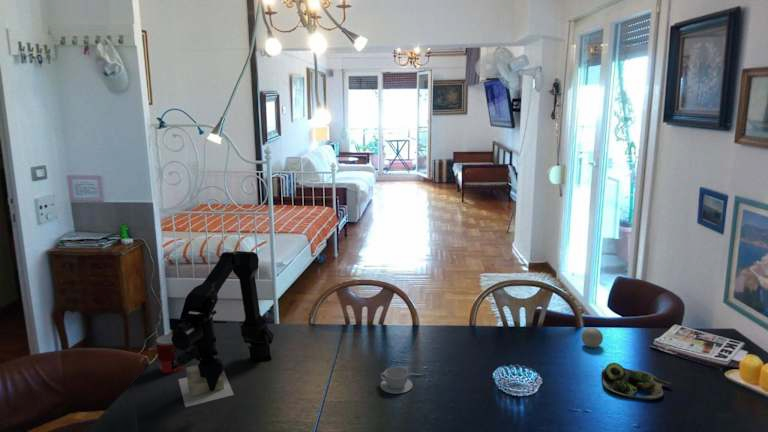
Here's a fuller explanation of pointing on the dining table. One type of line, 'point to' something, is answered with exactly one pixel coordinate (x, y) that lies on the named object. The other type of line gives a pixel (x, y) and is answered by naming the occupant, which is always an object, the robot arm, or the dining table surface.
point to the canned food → (167, 355)
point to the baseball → (592, 337)
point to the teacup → (395, 380)
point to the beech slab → (200, 382)
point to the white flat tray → (204, 397)
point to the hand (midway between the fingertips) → (209, 383)
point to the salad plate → (631, 382)
